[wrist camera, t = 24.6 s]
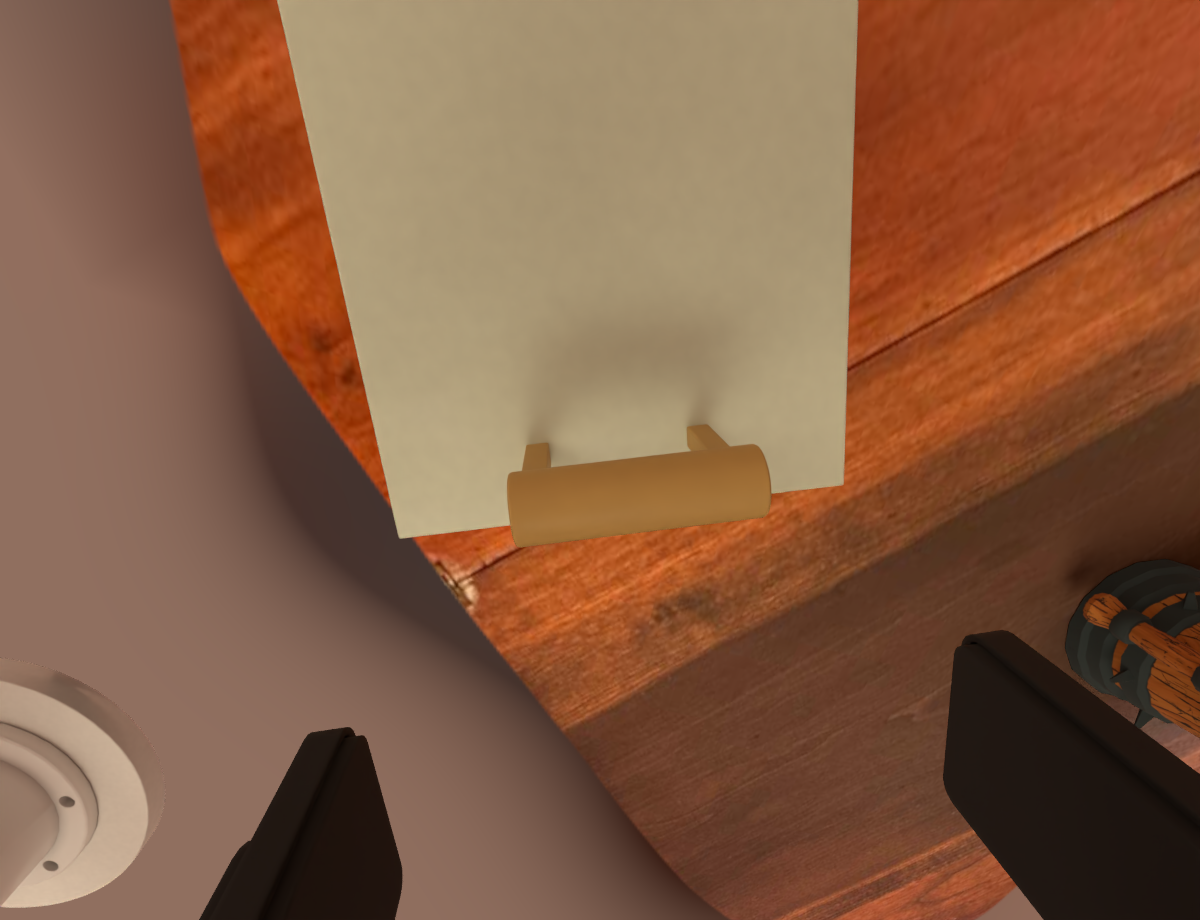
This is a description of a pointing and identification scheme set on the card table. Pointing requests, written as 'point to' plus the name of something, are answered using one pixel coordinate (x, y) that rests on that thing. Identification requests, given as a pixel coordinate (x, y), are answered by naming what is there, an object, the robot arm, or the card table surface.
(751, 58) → the lid
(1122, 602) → the mug
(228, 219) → the card table surface
